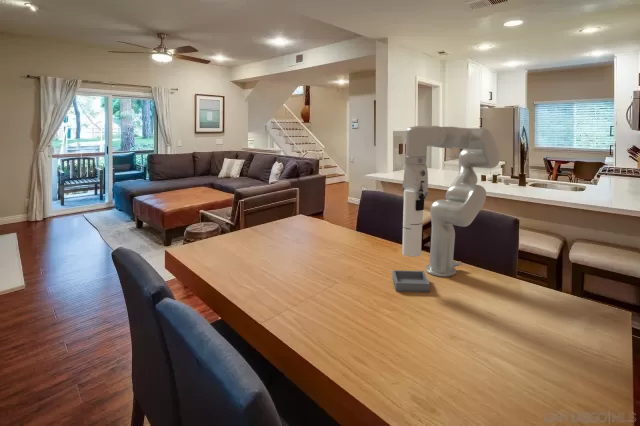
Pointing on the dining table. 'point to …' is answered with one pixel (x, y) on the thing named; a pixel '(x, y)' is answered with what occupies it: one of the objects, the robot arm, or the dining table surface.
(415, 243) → the cylindrical container
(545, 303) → the dining table surface
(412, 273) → the tray
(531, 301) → the dining table surface
